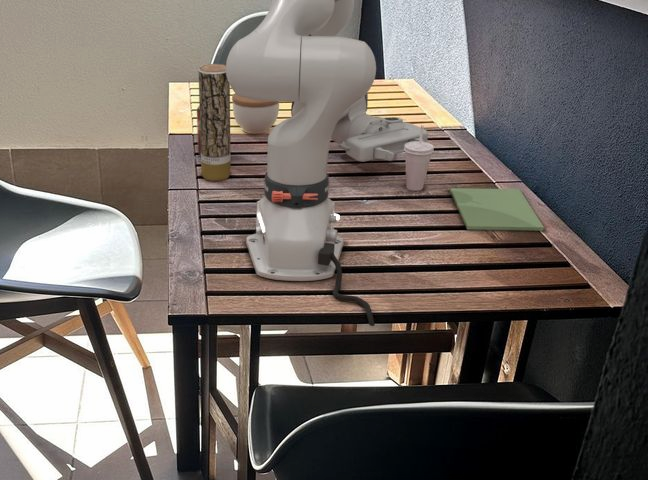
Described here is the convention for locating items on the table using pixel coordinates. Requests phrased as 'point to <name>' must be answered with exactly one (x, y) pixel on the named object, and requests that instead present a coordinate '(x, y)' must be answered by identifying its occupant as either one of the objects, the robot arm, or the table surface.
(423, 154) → the smoothie
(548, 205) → the table surface
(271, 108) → the lidded bowl
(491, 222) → the pad
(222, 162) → the paper tube
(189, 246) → the table surface
